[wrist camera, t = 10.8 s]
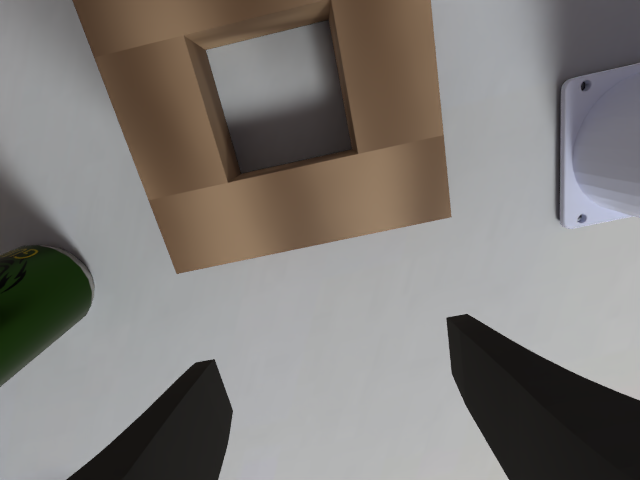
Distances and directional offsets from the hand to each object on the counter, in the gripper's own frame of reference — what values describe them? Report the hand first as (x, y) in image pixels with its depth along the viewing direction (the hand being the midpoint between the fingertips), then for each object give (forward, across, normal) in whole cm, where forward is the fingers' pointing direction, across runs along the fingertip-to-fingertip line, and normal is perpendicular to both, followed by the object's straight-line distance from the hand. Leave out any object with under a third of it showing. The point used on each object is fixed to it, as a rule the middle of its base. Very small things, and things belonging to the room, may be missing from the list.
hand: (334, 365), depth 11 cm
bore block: (+10, +1, -8) cm, 13 cm away
